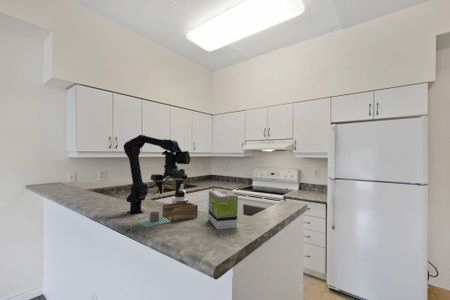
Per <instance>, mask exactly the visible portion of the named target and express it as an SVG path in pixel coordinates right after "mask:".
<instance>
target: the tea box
mask: <svg viewBox="0 0 450 300" xmlns="http://www.w3.org/2000/svg"><path fill="white" fill-rule="evenodd" d="M238 198H239V197H238V195H236V194H234V193H233V192H230V191H228V190H212V191H211V190H210V191H208V209H207V210H208V216H207V217H208V218H207V219H208V221H209V222H210V223H211V224H212V225H213V226H214V227H215V228H217V229H216V230H227V229H234V228H238V209H239V208H238V202H239V199H238Z"/></svg>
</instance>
